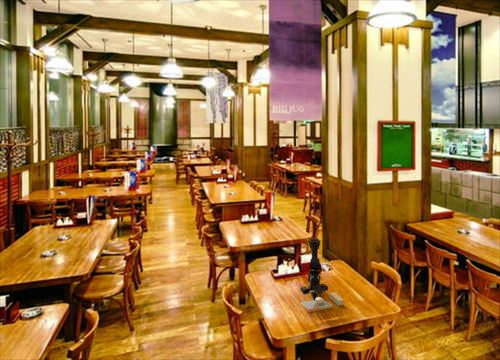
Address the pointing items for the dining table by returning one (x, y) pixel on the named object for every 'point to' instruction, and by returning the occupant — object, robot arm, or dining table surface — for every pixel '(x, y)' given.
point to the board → (315, 305)
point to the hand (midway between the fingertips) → (314, 300)
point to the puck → (319, 300)
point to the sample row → (336, 298)
